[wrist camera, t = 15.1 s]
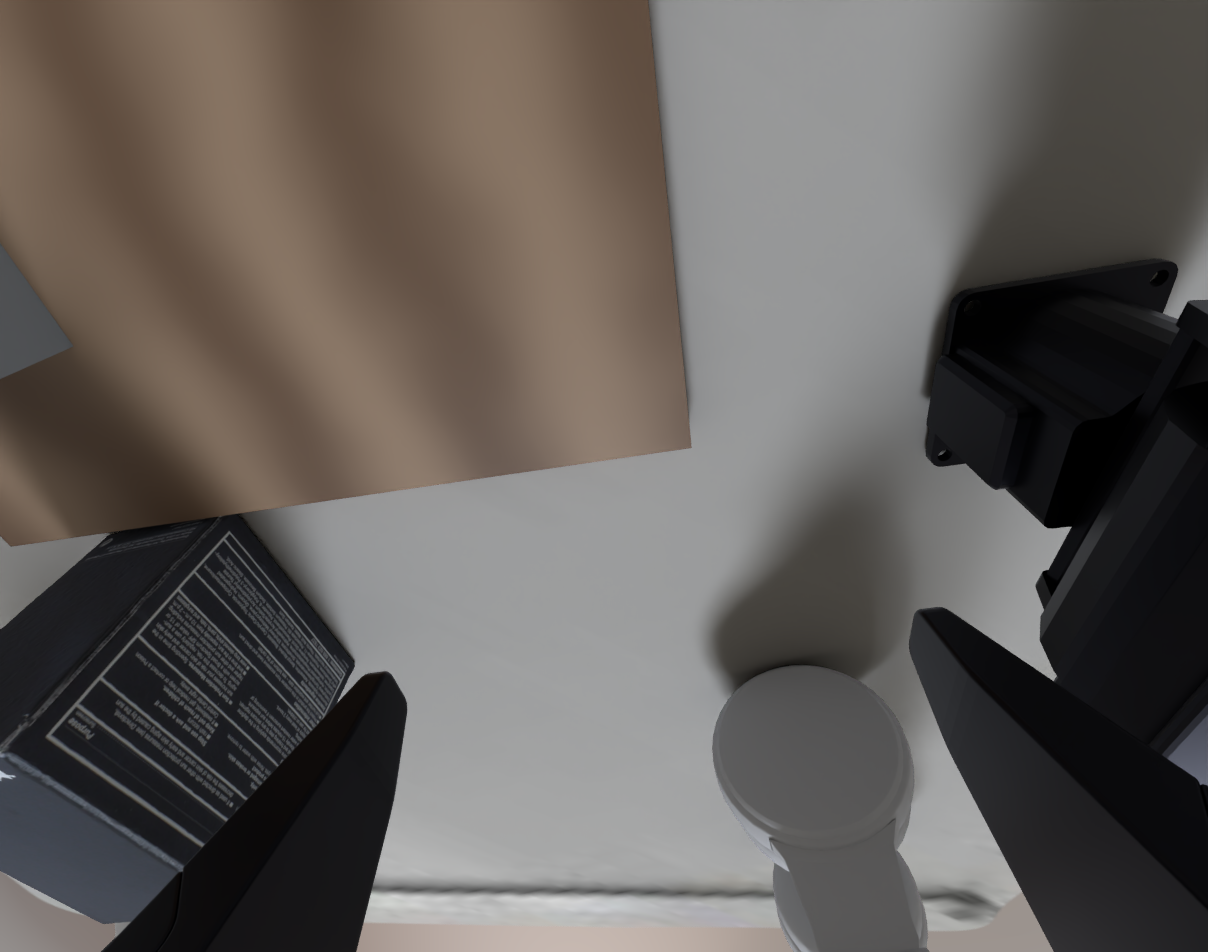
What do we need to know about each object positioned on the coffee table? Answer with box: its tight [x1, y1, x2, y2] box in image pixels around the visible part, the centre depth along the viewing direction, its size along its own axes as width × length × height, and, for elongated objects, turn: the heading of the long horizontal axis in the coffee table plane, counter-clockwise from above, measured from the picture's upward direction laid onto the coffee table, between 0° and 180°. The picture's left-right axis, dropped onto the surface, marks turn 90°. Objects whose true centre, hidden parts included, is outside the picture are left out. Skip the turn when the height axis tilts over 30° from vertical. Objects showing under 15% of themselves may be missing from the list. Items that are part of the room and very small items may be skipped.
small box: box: [0, 514, 355, 924], centre depth 21 cm, size 11×6×10 cm, turn 15°
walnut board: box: [0, 0, 691, 546], centre depth 15 cm, size 27×25×1 cm
